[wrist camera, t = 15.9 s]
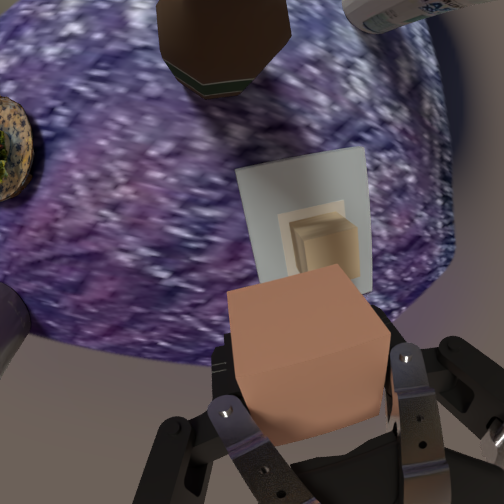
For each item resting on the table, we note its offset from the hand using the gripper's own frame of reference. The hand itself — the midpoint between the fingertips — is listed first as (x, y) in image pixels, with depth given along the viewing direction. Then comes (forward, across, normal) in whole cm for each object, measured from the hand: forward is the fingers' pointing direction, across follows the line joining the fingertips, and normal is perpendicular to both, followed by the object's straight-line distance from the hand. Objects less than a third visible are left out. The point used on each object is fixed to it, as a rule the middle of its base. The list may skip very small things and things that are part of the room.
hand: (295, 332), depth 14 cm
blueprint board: (+18, -6, +4) cm, 20 cm away
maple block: (+17, -6, +4) cm, 18 cm away
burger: (+18, +25, -16) cm, 35 cm away
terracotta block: (+1, 0, 0) cm, 1 cm away
